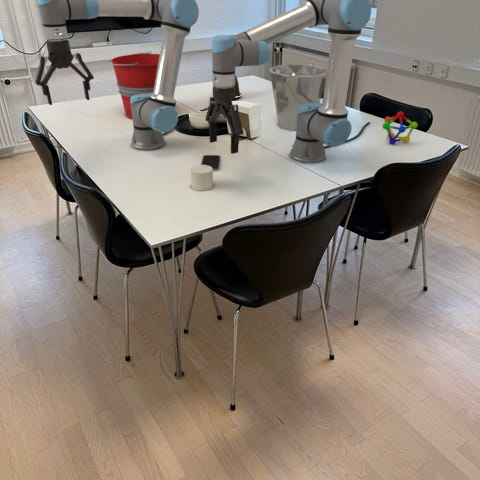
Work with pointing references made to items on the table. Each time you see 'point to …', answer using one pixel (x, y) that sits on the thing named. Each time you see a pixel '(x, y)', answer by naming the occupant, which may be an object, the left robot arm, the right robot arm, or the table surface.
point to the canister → (201, 177)
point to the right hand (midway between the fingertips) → (223, 147)
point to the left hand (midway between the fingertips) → (69, 101)
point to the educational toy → (398, 128)
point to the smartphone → (211, 161)
